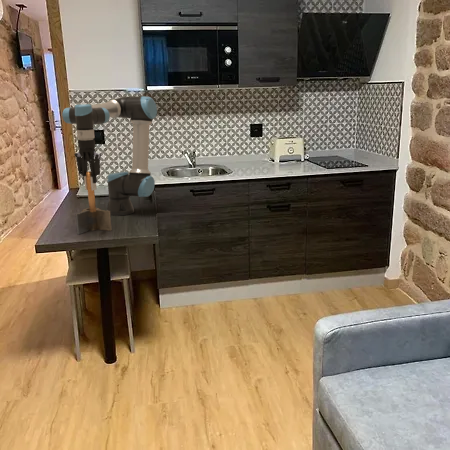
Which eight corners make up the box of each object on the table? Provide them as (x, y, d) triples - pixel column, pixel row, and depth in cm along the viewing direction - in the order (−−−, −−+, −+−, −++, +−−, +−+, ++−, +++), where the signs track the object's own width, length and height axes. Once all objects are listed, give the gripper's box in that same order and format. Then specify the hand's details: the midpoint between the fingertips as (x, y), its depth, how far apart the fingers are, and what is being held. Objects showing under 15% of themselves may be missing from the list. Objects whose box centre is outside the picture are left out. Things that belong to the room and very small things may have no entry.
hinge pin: (92, 210, 226) (88, 171, 221) (97, 210, 225) (93, 171, 220) (88, 211, 224) (84, 172, 218) (93, 212, 222) (89, 172, 217)
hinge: (91, 226, 242) (89, 207, 239) (114, 229, 237) (113, 209, 234) (73, 233, 229) (71, 213, 227) (97, 236, 224) (95, 216, 221)
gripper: (66, 139, 214) (71, 190, 221) (95, 140, 208) (100, 192, 215) (77, 137, 221) (82, 186, 228) (105, 138, 215) (109, 189, 222)
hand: (90, 189), depth 221 cm, fingers closed on hinge pin, 3 cm apart
